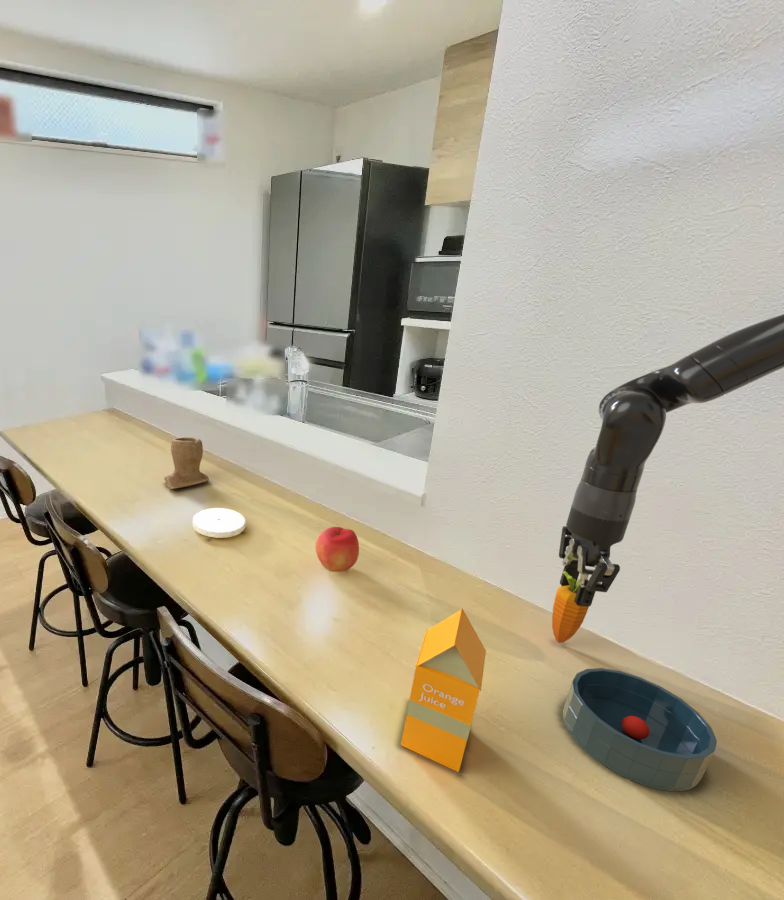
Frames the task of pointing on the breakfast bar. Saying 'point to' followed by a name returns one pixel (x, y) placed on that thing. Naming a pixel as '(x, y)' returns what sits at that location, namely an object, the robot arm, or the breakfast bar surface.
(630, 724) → the ball
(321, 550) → the apple
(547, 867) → the breakfast bar surface
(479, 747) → the breakfast bar surface
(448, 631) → the orange juice
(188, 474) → the stone cup
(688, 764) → the bowl
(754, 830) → the breakfast bar surface
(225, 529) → the plastic lid
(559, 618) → the carrot
